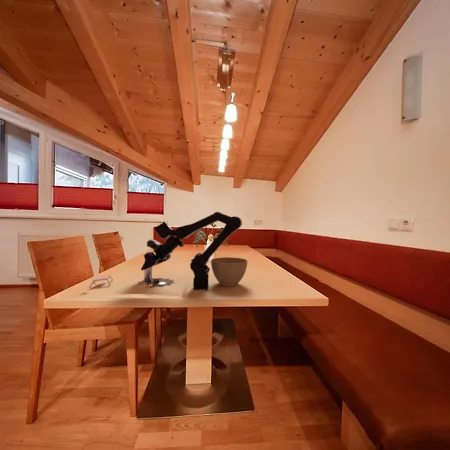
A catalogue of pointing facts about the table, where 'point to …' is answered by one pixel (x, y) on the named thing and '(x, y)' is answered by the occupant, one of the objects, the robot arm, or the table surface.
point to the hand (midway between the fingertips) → (146, 267)
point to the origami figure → (102, 279)
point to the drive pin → (148, 274)
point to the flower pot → (229, 270)
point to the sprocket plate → (162, 283)
